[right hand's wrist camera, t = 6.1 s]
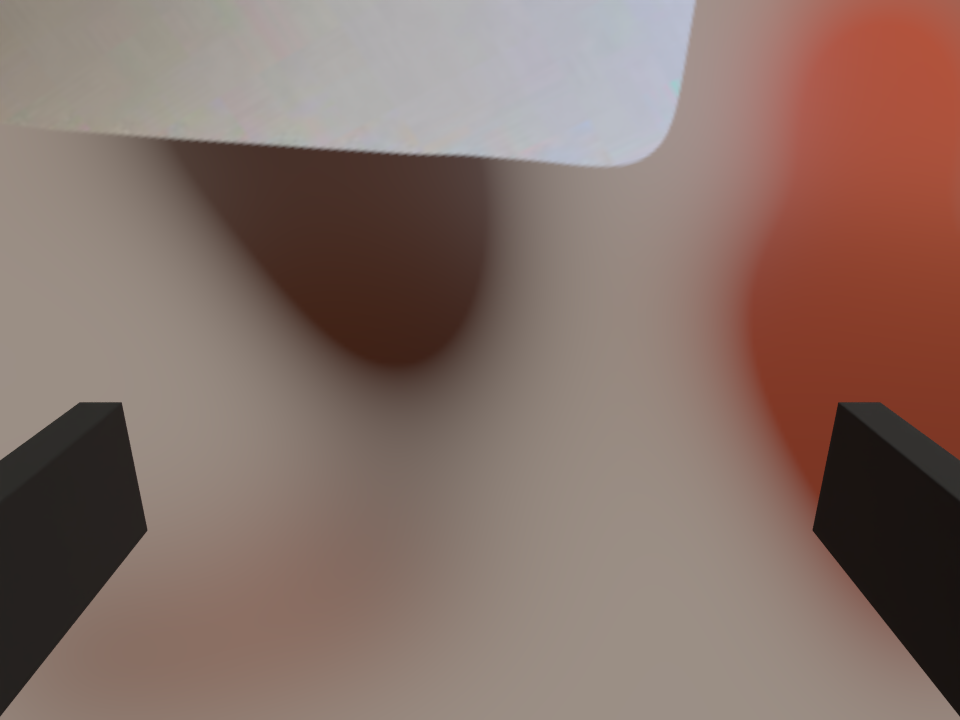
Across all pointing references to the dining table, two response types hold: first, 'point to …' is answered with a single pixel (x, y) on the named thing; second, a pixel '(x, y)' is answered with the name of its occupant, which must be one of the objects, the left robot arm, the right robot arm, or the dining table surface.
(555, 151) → the dining table surface
